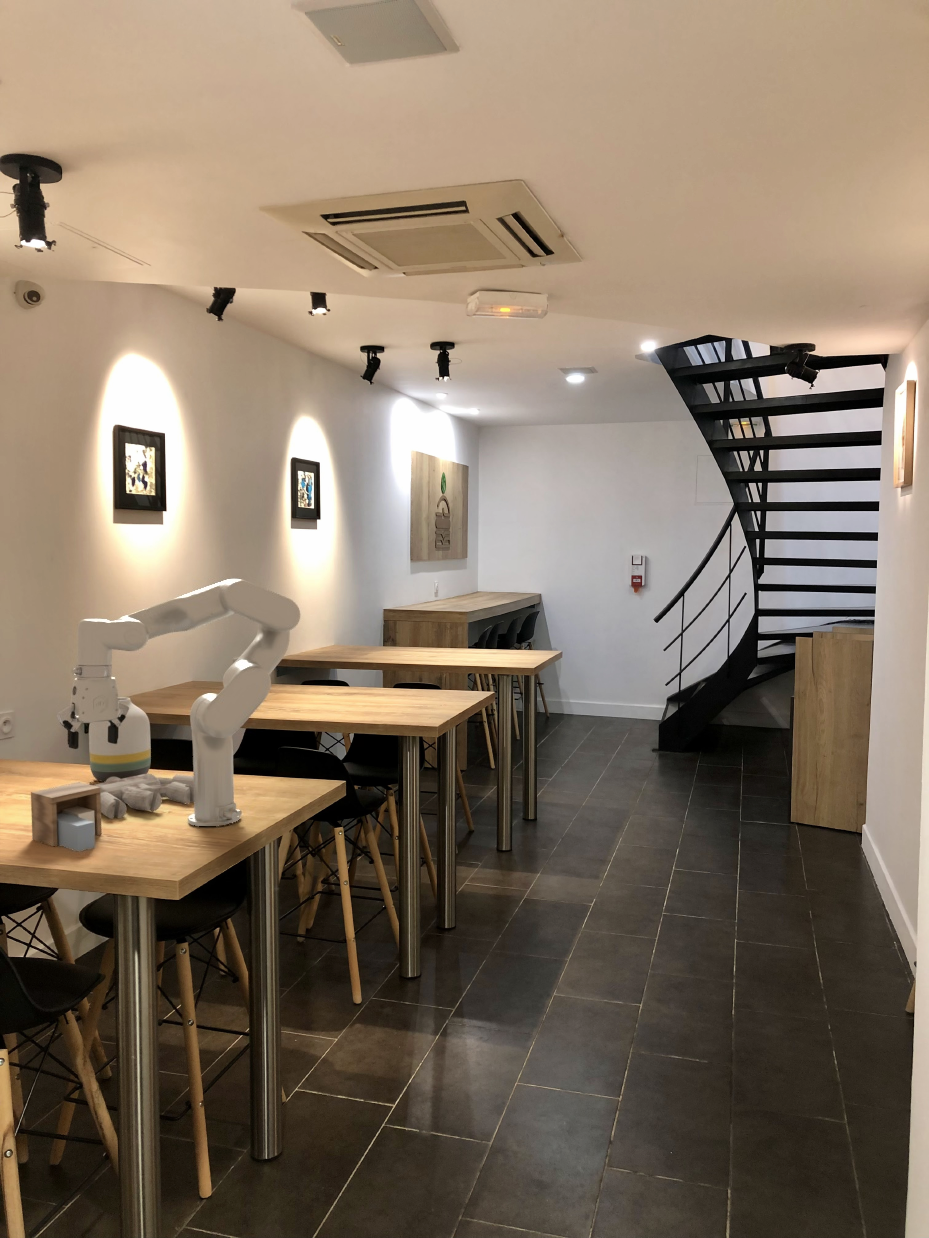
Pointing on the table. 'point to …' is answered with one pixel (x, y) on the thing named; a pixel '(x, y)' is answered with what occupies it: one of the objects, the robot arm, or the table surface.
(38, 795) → the open wooden box
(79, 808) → the block
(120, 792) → the white branched piece
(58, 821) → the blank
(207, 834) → the table surface
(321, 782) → the table surface
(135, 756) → the vase
